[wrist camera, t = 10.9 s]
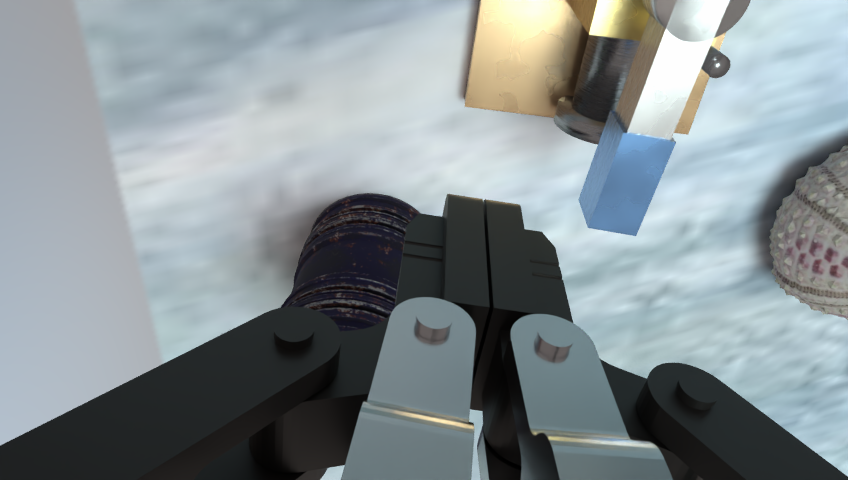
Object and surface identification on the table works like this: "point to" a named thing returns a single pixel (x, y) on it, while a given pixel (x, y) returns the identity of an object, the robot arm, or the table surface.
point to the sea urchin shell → (815, 238)
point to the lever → (651, 109)
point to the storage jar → (353, 260)
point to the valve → (566, 61)
